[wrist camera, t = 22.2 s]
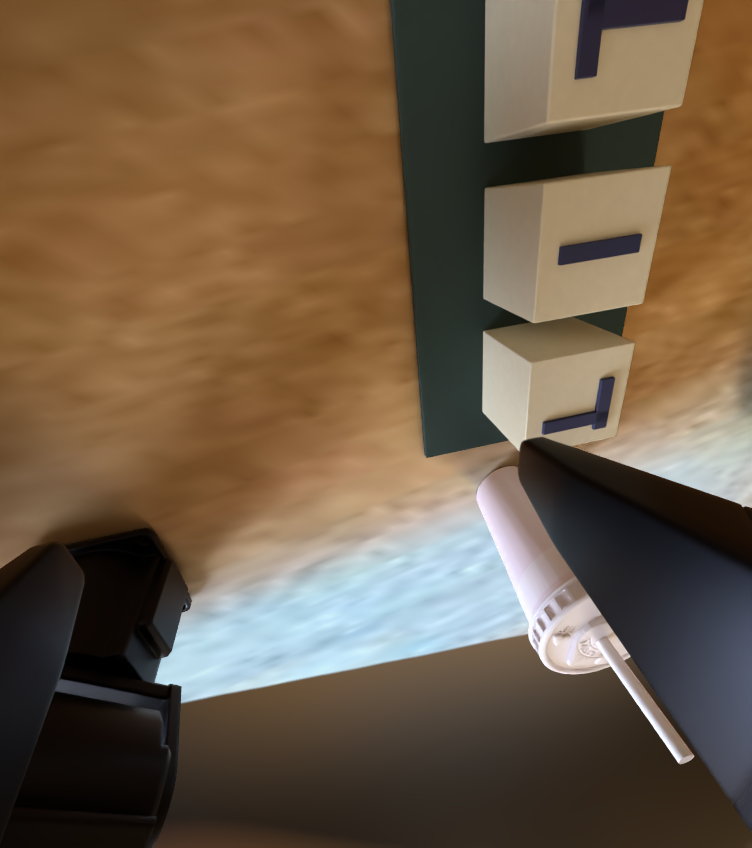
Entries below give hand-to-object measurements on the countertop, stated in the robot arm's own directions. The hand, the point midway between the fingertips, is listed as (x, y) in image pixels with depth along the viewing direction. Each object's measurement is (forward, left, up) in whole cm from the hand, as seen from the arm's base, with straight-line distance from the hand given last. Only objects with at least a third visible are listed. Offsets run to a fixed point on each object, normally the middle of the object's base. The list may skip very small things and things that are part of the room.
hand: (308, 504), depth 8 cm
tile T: (+11, +8, -12) cm, 18 cm away
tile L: (+11, -4, -12) cm, 16 cm away
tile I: (+11, +2, -12) cm, 16 cm away
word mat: (+11, +2, -12) cm, 16 cm away
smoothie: (+10, -12, -12) cm, 20 cm away
